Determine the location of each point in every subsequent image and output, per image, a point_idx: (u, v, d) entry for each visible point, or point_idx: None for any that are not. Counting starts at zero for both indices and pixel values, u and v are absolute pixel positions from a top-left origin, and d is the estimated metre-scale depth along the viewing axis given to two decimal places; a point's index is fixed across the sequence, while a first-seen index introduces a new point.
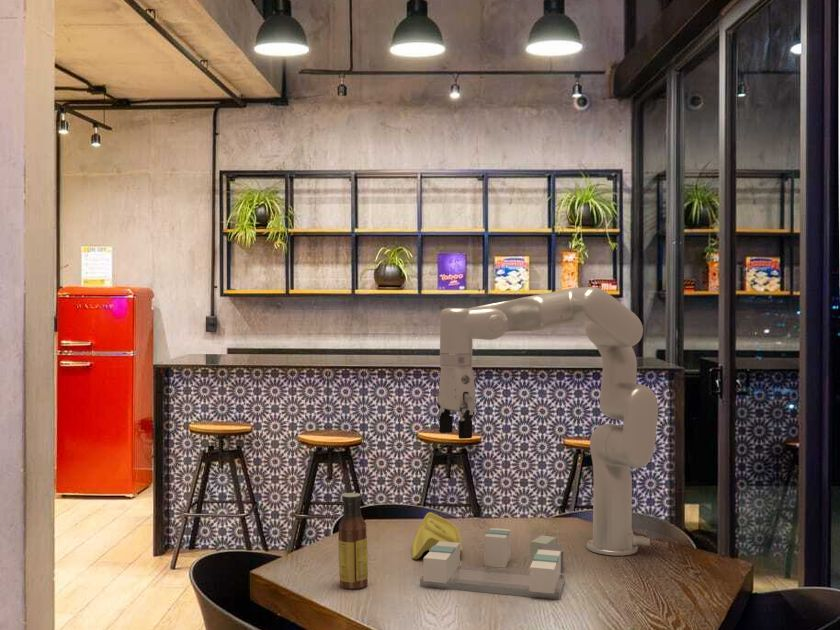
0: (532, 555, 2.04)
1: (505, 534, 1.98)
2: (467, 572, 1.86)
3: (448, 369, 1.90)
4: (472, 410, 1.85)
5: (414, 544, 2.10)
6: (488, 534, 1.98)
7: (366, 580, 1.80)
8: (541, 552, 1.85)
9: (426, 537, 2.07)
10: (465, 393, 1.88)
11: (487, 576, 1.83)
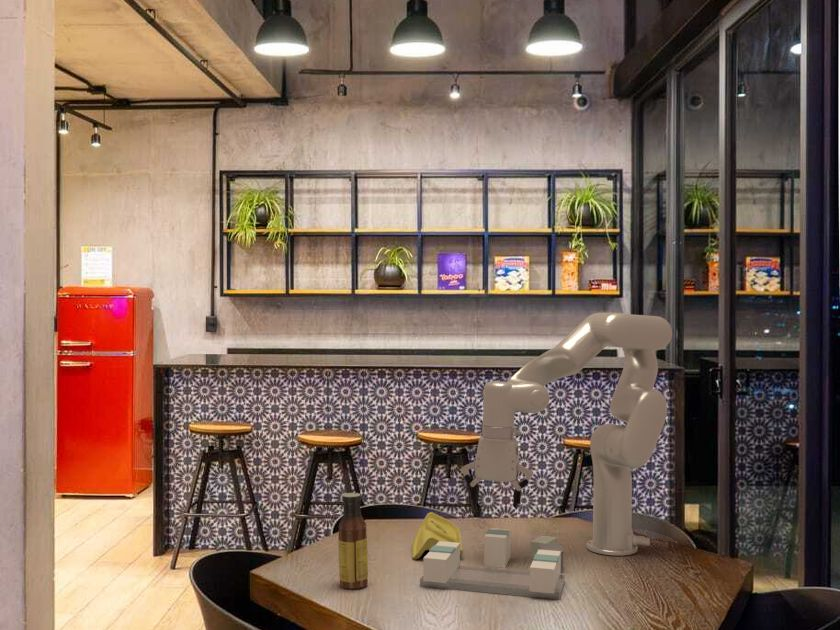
0: (532, 555, 2.04)
1: (505, 534, 1.98)
2: (467, 572, 1.86)
3: (500, 442, 1.97)
4: (529, 479, 1.98)
5: (414, 544, 2.10)
6: (488, 534, 1.98)
7: (366, 580, 1.80)
8: (541, 552, 1.85)
9: (426, 537, 2.07)
10: (518, 464, 1.98)
11: (487, 576, 1.83)
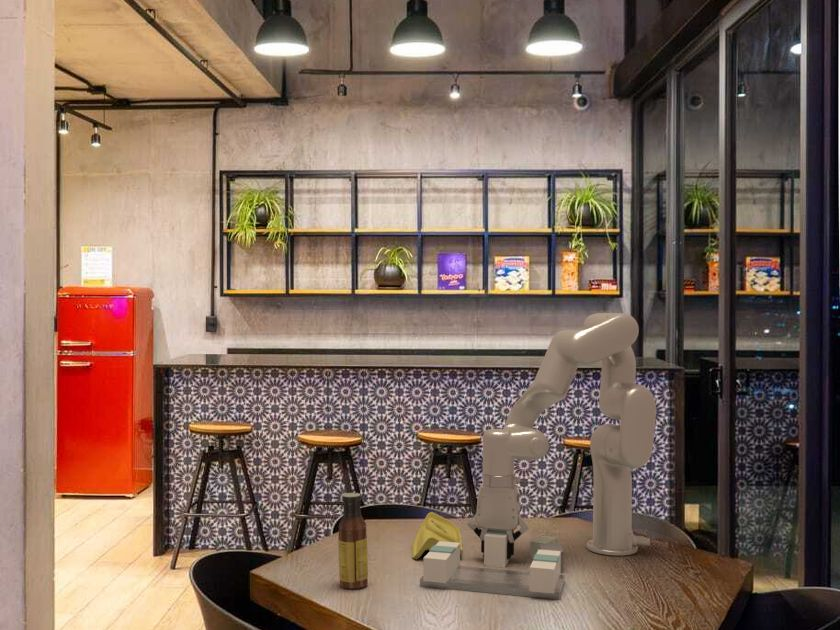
0: (531, 555, 2.04)
1: (505, 534, 1.98)
2: (467, 572, 1.86)
3: (500, 490, 1.97)
4: None
5: (415, 544, 2.10)
6: (488, 534, 1.98)
7: (366, 580, 1.80)
8: (541, 552, 1.85)
9: (426, 537, 2.07)
10: (518, 511, 1.98)
11: (487, 576, 1.83)
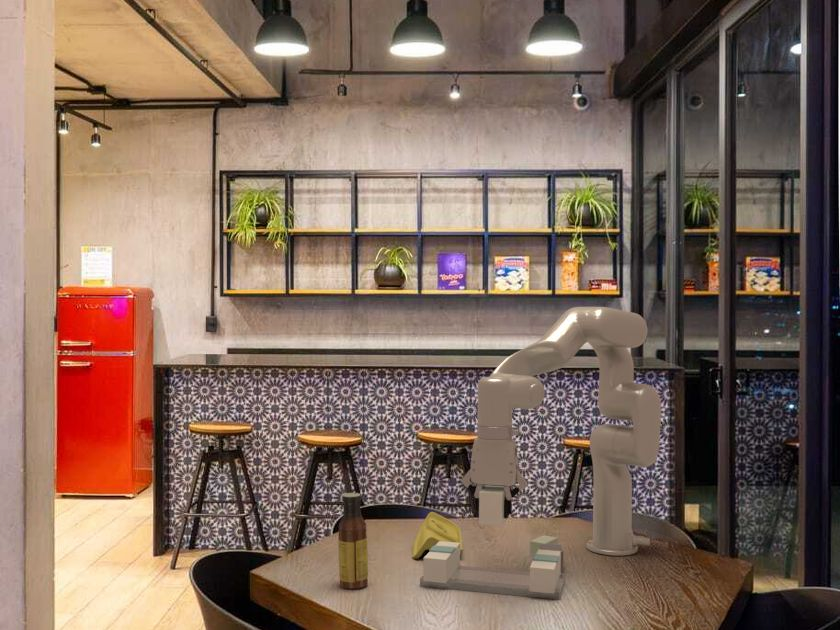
0: (531, 555, 2.04)
1: (502, 490, 1.81)
2: (467, 572, 1.86)
3: (497, 443, 1.80)
4: (521, 489, 1.81)
5: (415, 543, 2.10)
6: (483, 490, 1.81)
7: (366, 580, 1.80)
8: (541, 552, 1.85)
9: (427, 536, 2.08)
10: (517, 466, 1.81)
11: (487, 576, 1.83)
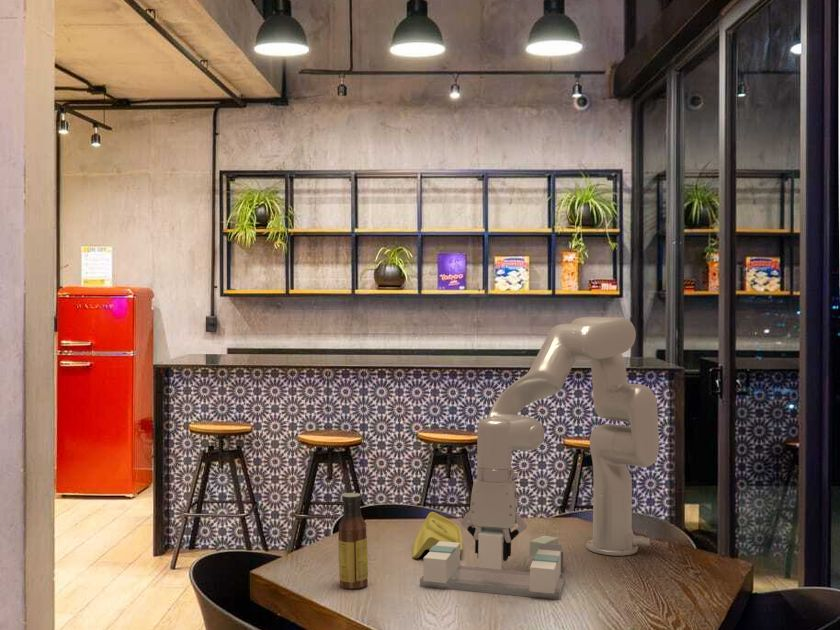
0: (531, 555, 2.04)
1: (501, 533, 1.81)
2: (467, 572, 1.86)
3: (496, 485, 1.80)
4: None
5: (415, 543, 2.10)
6: (483, 532, 1.81)
7: (366, 580, 1.80)
8: (541, 552, 1.85)
9: (427, 536, 2.08)
10: (516, 508, 1.81)
11: (487, 576, 1.83)
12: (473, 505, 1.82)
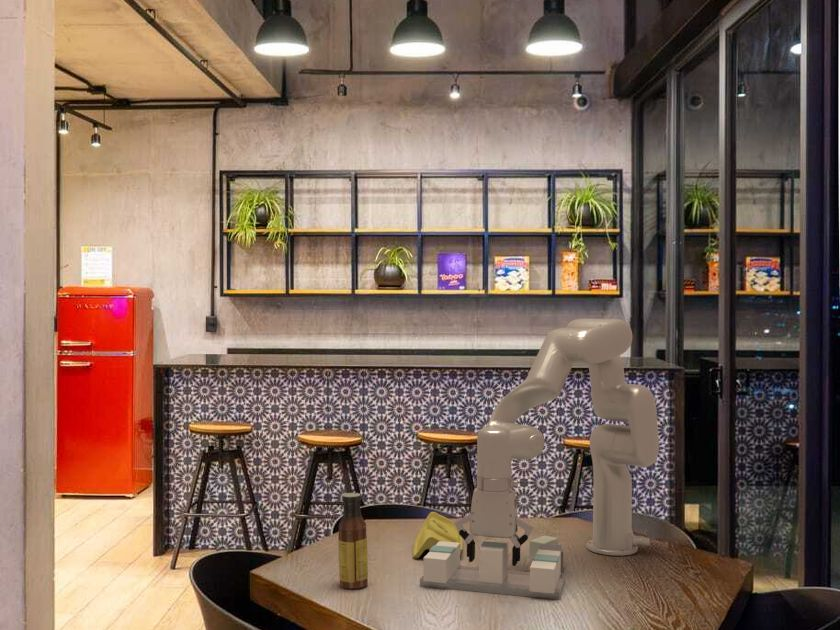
0: (531, 554, 2.04)
1: (502, 547, 1.81)
2: (467, 572, 1.86)
3: (496, 494, 1.80)
4: (529, 535, 1.81)
5: (416, 543, 2.10)
6: (483, 547, 1.81)
7: (366, 580, 1.80)
8: (541, 552, 1.85)
9: (427, 536, 2.08)
10: (516, 517, 1.81)
11: None
12: (473, 514, 1.82)
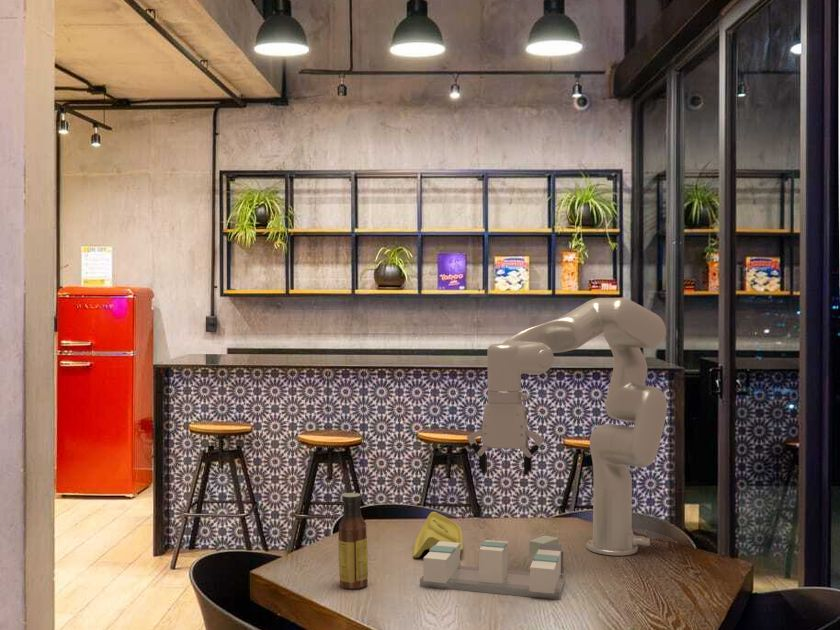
0: (530, 554, 2.04)
1: (502, 547, 1.81)
2: (467, 572, 1.86)
3: (507, 407, 1.86)
4: None
5: (416, 543, 2.11)
6: (483, 547, 1.81)
7: (366, 580, 1.80)
8: (541, 552, 1.85)
9: (427, 536, 2.08)
10: (527, 429, 1.88)
11: None
12: (485, 427, 1.88)
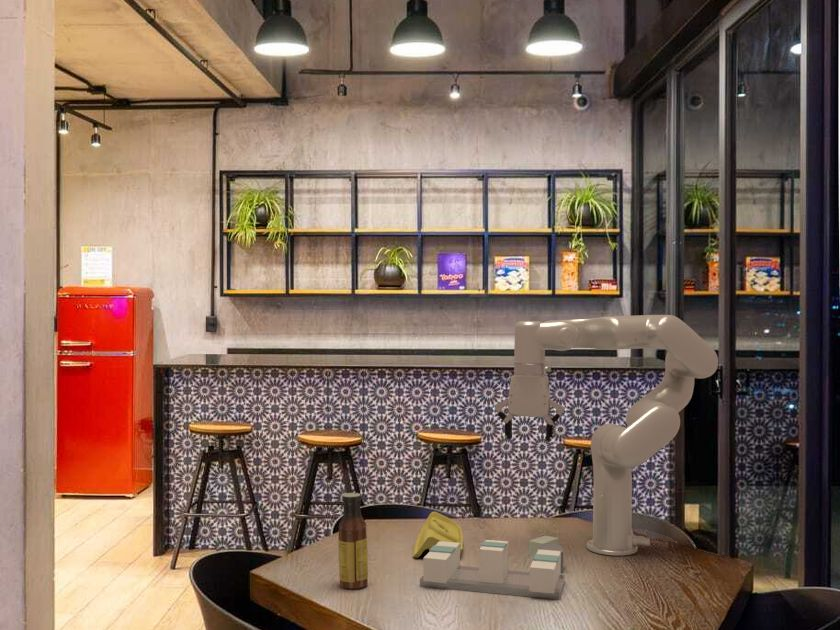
0: (530, 554, 2.04)
1: (502, 547, 1.81)
2: (467, 572, 1.86)
3: (532, 378, 2.04)
4: None
5: (416, 543, 2.11)
6: (483, 547, 1.81)
7: (366, 580, 1.80)
8: (541, 552, 1.85)
9: (428, 536, 2.08)
10: (549, 399, 2.05)
11: None
12: (511, 397, 2.06)
